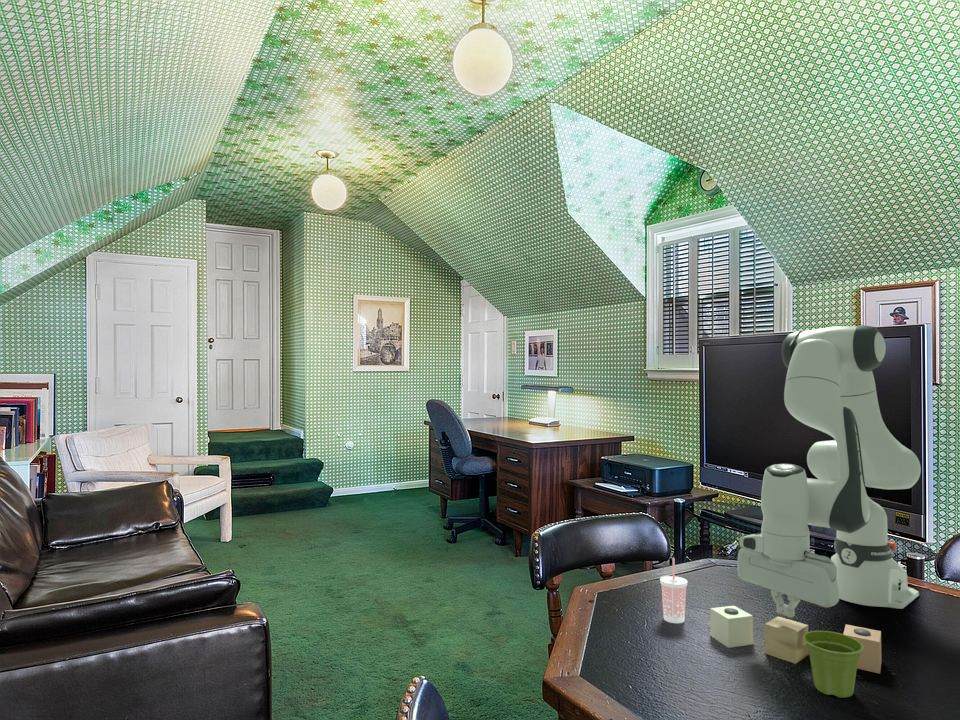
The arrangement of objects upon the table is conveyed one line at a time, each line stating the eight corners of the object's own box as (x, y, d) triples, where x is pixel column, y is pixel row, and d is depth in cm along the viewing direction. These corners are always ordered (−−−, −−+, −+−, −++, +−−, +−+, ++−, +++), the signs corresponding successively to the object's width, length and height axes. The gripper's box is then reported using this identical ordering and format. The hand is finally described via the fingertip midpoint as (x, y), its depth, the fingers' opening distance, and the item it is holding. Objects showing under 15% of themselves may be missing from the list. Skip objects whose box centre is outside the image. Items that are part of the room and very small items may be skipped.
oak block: (778, 645, 131) (778, 616, 131) (808, 655, 126) (808, 625, 126) (764, 653, 127) (764, 623, 127) (795, 664, 122) (795, 633, 122)
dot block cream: (734, 633, 137) (734, 604, 137) (753, 644, 131) (752, 614, 131) (710, 636, 135) (710, 606, 135) (728, 648, 129) (728, 617, 130)
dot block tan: (846, 654, 127) (845, 622, 127) (881, 662, 123) (880, 629, 123) (843, 665, 122) (843, 633, 122) (880, 674, 118) (879, 640, 118)
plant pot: (834, 707, 106) (833, 655, 107) (791, 681, 115) (791, 633, 116) (877, 699, 109) (876, 648, 109) (832, 674, 118) (832, 627, 118)
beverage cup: (689, 616, 146) (689, 556, 146) (686, 626, 140) (685, 563, 140) (662, 612, 148) (661, 553, 149) (658, 621, 143) (657, 560, 143)
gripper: (845, 556, 120) (846, 629, 119) (751, 533, 137) (751, 596, 137) (826, 561, 116) (826, 636, 116) (732, 536, 134) (732, 601, 134)
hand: (785, 614), depth 127 cm, fingers closed
